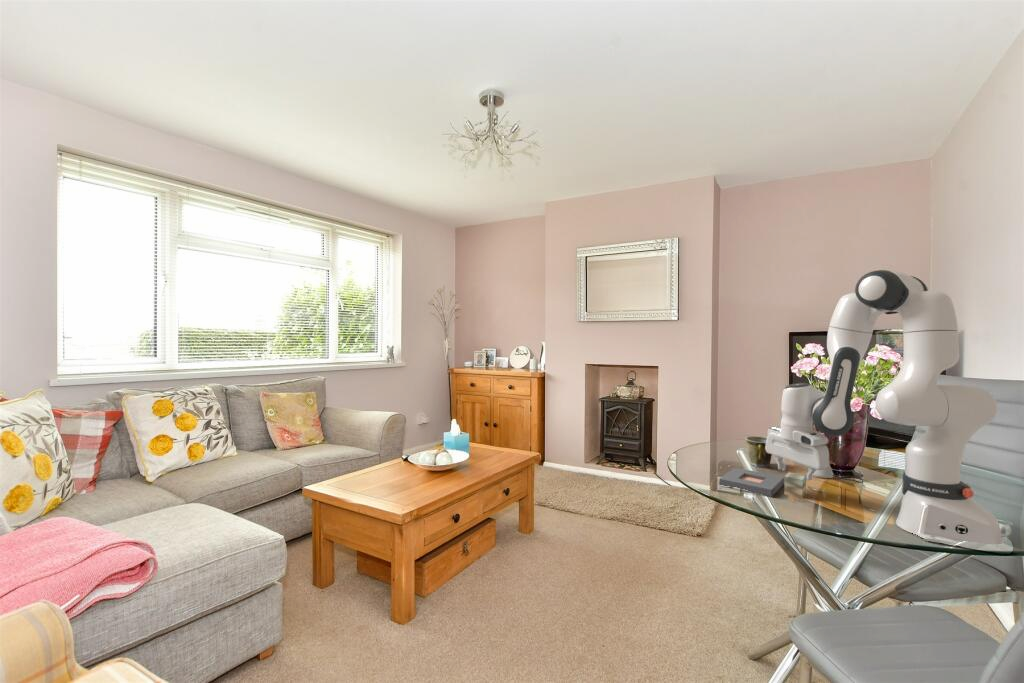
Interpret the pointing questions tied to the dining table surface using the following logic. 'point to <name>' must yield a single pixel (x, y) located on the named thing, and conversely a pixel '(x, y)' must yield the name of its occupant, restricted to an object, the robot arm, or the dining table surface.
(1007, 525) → the dining table surface
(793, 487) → the faceted block
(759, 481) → the pocket plate
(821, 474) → the flask
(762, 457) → the ceramic cup
